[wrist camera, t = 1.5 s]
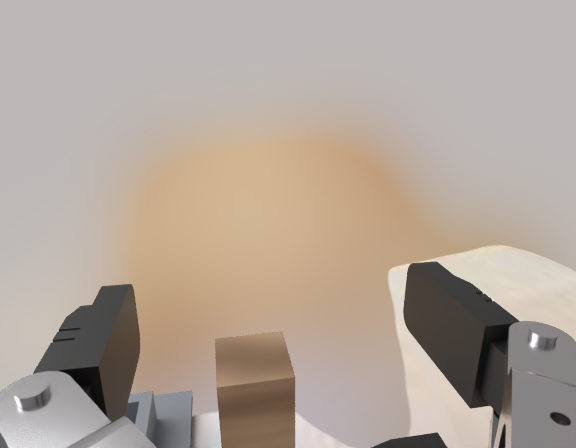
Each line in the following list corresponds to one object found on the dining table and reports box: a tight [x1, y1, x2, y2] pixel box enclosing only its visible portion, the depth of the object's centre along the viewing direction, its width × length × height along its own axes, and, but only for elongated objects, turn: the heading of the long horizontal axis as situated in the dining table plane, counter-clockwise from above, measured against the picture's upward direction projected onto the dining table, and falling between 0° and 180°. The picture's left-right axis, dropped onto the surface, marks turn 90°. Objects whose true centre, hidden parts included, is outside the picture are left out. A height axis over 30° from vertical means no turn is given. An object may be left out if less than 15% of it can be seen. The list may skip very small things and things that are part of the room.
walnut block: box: [215, 332, 295, 448], centre depth 29 cm, size 4×4×14 cm
